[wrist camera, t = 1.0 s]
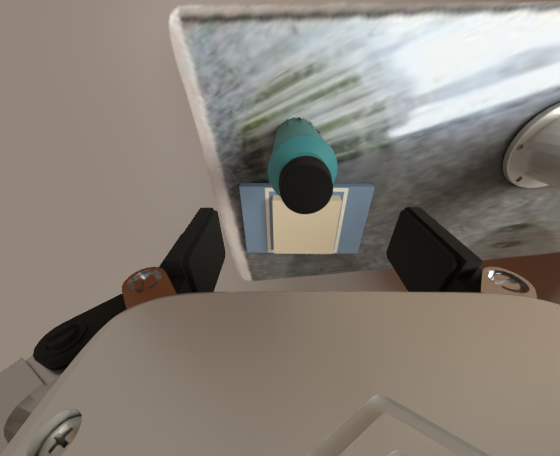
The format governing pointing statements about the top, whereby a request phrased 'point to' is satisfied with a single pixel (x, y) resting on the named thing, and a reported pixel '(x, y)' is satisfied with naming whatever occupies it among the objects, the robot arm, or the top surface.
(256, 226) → the board
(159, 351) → the robot arm
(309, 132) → the beverage bottle
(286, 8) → the top surface
